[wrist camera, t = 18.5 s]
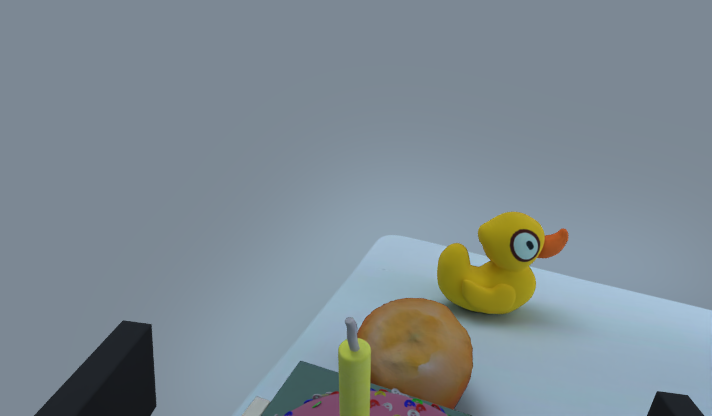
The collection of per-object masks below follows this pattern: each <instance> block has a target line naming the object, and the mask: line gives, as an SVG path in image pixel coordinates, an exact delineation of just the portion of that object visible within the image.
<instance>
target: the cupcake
mask: <svg viewBox="0 0 712 416" xmlns="http://www.w3.org/2000/svg"><path fill="white" fill-rule="evenodd" d="M345 324H346V326H347V339H346V340H345V341H343V342H342V343H341V344H340V346H339V350H338V361H339V392H338V391H335V392H326V393H325V394H323V395H320V394H314V395H313V396H312V398H313V399H310V400H306V401H305V402H304V405H302V406H300V407H298V408H296V409H294V410H292V411H289V412H287V413H286V414H285V415H283V416H451V415H448V414H445V412H444V410H443V409H442V408H441V407H439V406H438V405H436V404H432V405H431V406H430V405H427V404H425V403H423V402H422V401H421V400H420V399H416V398H415V399H412V398H409V396H407V395H406V394H402V393H400V391H399V390H397V389H395V388H394V389H392V391H391V392H392V393H390V392H388V391H387V390H384V389H380V390H379V391H376V390H375V389H372V388H370V375H371V348H370V345H369V344H368V343H367V342H366V341H365V340H363V339H360V338H357V324H356V322H355V320H354V319H353V318H351V317H348V318H346V320H345ZM394 391H396V393H395V392H394ZM328 394H330V395H328ZM316 396H318V398H315V397H316ZM434 406H435V407H437V408H435V407H434ZM441 411H442V412H441ZM275 416H278V414H275Z"/></svg>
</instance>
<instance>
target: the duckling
mask: <svg viewBox="0 0 712 416" xmlns="http://www.w3.org/2000/svg"><path fill="white" fill-rule="evenodd" d="M478 237H479V241H480V242H481V244H482V246H483V249H484V251H485V253H486V255H487V257H488V258H489V259H490V260H491V261H489V262H487V263H485V264H484V265H482V266H480V267H476V266H473V265H470V260H469V255H468V251H467V249H466V248H465V247H464V246H463V245H462V244H459V243H454V244H451V245H449V246H448V247H447V248H446V249H445V250H444V251H443V252H442V253H441V255H440V257H439V261H438V269H437V279H438V285H439V288H440V290H441V291H442V293H443V294H444V295H445V297H446V298H447V299H448V300H450V301H451V302H453V303H454V304H456V305H458V306H460V307H463V308H465V309H467V310H471V311H475V312H482V313H486V314H506V313H509V312H511V311H514V310H515V309H517V308H519V307H520V306H522V305H523V304H525V303H526V302H527V301H528V300H529V299H530V298H531V297H532V295H533V293H534V291H535V288H536V280H535V276H534V274H533V272H532V270H531V269H530V267H529V265H530V264H531V263H533V262H534V261H535V259H536V258H549V257H552V256H554V255H556V254H558V253H559V252H560V251H561V250H562V249H563V248H564V246H565V244H566V242H567V241H568V232H567V230H566V229H561V230H559V231H558V232H557V233H555V234H552V235H546V236H545V235H544V231H543V229H542V227H541V225H540V224H539V223H538V222H537V221H536V220H534V219H533V218H531V217H530V216H528V215H526V214H523V213H520V212H507V213H503V214H501V215H498V216H497V217H495V218H493V219H491V220H490V221H488V222H486V223H484V224H483V225H481V226H480V228H479V230H478Z"/></svg>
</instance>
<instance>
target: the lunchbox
mask: <svg viewBox="0 0 712 416" xmlns="http://www.w3.org/2000/svg"><path fill="white" fill-rule="evenodd" d="M370 388H372V389H375V390H376V391H379V390H380V389H384V390H387V391H388V392H390V393H392V392H391V391H392V390H390V389H387V388H384V387H381V386H378V385H375V384H372V383H370ZM335 391H338V392H339V373H338V372H334V371H331V370H328V369H325V368H322V367H319V366H316V365H313V364H309V363H306V362H303V361H300V362H299V363H298V365H297V366H296V368H295V369H294V370H293V372H292V373H291V375H290V376H289V377H288V379H287V380H286V382H285V383H284V384H283V386H282V387H281V388H280V390H279V391H278V393H277V394H276V395H275V397H274V398H273V400H272V401H271V402H270V401H269V400H266V399H263V398H260V397H255V399H254V400H253V401H252V403H251V404H250V405H249V407H248V408H247V409H246V410H245V412H244V413H243V414H242V416H275V414H278V416H283V415H285V414H286V413H287V412H289V411H292V410H294V409H296V408H298V407H300V406H302V405H304V402H305V401H306V400H310V399H313V398H312V396H313V395H314V394H320V395H323V394H325V393H326V392H335ZM394 392H395V393H396V391H394ZM402 394H403V393H402ZM328 395H330V394H328ZM407 396H409V395H407ZM315 398H318V396H316V397H315ZM409 398H412V399H415V397H412V396H409ZM416 399H418V398H416ZM420 400H421V401H422V402H423V403H425V404H427V405H430V406H431V405H432V404H434V403H431V402H428V401H425V400H422V399H420ZM436 405H437V404H436ZM438 406H439V407H441V408H442V409H443V410H444V412H445V414H448V415H451V416H471V415H468V414H465V413H462V412H459V411H456V410H453V409H450V408H446V407H443V406H440V405H438ZM434 407H435V406H434ZM435 408H437V407H435ZM441 412H442V411H441Z"/></svg>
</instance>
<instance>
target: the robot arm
mask: <svg viewBox="0 0 712 416" xmlns="http://www.w3.org/2000/svg"><path fill="white" fill-rule="evenodd" d="M151 327H152V326H151V324H146V323H137V322H131V321H122V322H121V323H120V324H119V325H118V326H117V327H116V329H115V330H114V331H113V332H112V333H111V334H110V335H109V336H108V337H107V338H106V339H105V340H104V341H103V343H102V344H101V345H100V346H99V347H98V348H97V349H96V350H95V351H94V352H93V353H92V354H91V356H90V357H88V359H87V360H86V361H85V362H84V363H83V364H82V365H81V366H80V367H79V368H78V369H77V370H76V371H75V373H74V374H73V375H72V376H71V377H70V378H69V379H68V380H67V381H66V382H65V383H64V384H63V385H62V386H61V388H59V390H58V391H57V392H56V393H55V394H54V395H53V396H52V397H51V398H50V399H49V400H48V401H47V402H46V404H45V405H44V406H43V407H42V408H41V409H40V410H39V411H38V412H37V413H36V414H35V415H34V416H151V414H152V412H153V411H154V409H155V407H156V393H155V375H154V359H153V344H152V343H153V342H152V328H151ZM647 416H704V415H703V414H702V412H701V411H700V410H699V409H698V407H697V406H696V405H695V404H694V402H693V401H692V400H691V399H690V397H689V396H688V395H682V394H674V393H667V392H659V391H657V393H656V395H655V398H654V400H653V402H652V405H651V407H650V410H649V412H648V415H647Z"/></svg>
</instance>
